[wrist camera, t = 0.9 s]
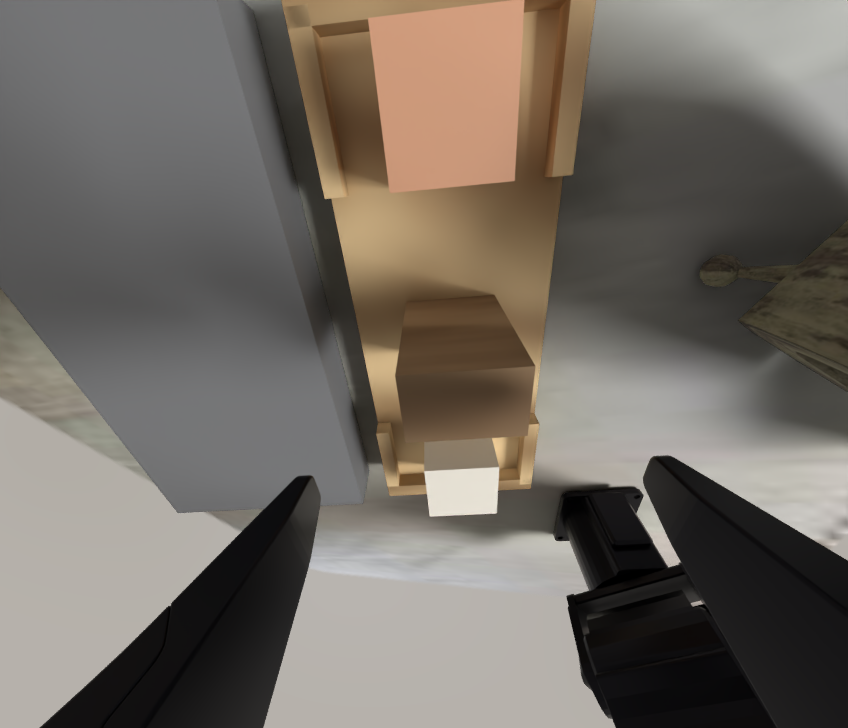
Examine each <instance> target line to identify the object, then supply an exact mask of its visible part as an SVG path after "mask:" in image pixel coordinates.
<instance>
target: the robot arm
mask: <svg viewBox="0 0 848 728" xmlns="http://www.w3.org/2000/svg"><path fill="white" fill-rule="evenodd" d="M643 483H644V486H645V489H646V491H647V493H648V495H649V497H650V500H651V502H652V504H653V506H654V508H655V511H656V513H657V515H658V517H659V519H660V521H661V524H662V526H663V528H664V530H665V532H666V534H667V537H668V539H669V541H670V543H671V545H672V547H673V548H674V550H675V552H676V554H677V556H678V557H679V559H680V561H681V562H680V563H679V565H676V566H672V567H668V566H667V564H666V563H665V561H664V559H663V558H662V556H661V555H660V553H659V551H658V550H657V548H656V546H655V545H654V543H653V540H652V538H651V537H650V535H649V533H648V532H647V530H646V529H645V527H644V525H643V524H642V522H641V521H640V519H639V517H638V516H637V514H636V513H637V510H638V508H639V506H640V503H641V501H642V499H643V494H642V492H641V491H640V490H639V489H624V490H604V491H584V492H567V493H564V494H563V495H562V496H561V501H560V506H559V510H558V515H557V520H556V524H555V529H554V534H553V535H554V538H555V540H556V541H570V543H571V546H572V548H573V551H574V554H575V556H576V559H577V561H578V564H579V566H580V569H581V571H582V574H583V576H584V579H585V581H586V584H587V587H588V589H589V591H587V592H583V593H580V594H576V595H574V594H571V595H568V596H567V601H568V605H569V607H568V611H569V615H570V620H571V624H572V628H573V632H574V637H575V641H576V645H577V650H578V653H579V661H580V669H581V676H582V679H583V682H584V684H585V685H586V686H587V687H588V688H589V689H591V690H592V691H593V693H594V695H595V697H596V699H597V701H598V703H599V705H600V707H601V709H602V710H603V712H604V713H605V715H606V716H607V717H608V718H610V719H613V722H614V724H615V727H616V728H848V561H847V560H846V559H844V558H842V557H841V556H839V555H837V554H836V553H834V552H832V551H831V550H829V549H827V548H826V547H824V546H822V545H821V544H819V543H817V542H815V541H814V540H812V539H810V538H809V537H807V536H805V535H804V534H802V533H800V532H799V531H797V530H795V529H794V528H792V527H790V526H789V525H787V524H785V523H783V522H782V521H780V520H778V519H777V518H775V517H773V516H772V515H770V514H768V513H767V512H765V511H763V510H762V509H760V508H758V507H756V506H755V505H753V504H751V503H750V502H748V501H746V500H745V499H743V498H741V497H740V496H738V495H736V494H735V493H733V492H731V491H730V490H728V489H726V488H724V487H723V486H721V485H719V484H718V483H716V482H714V481H713V480H711V479H709V478H708V477H706V476H704V475H703V474H701V473H699V472H698V471H696V470H694V469H692V468H691V467H689V466H687V465H686V464H684V463H682V462H681V461H679V460H677V459H676V458H674V457H672V456H653V457H652V458H651V459H650V461H649V463H648V466H647V468H646V471H645V474H644V476H643ZM320 503H321V495H320V492H319V489H318V487H317V484H316V481H315V479H314V477H313V476H312V475H301V476H297V477H296V478H294V479H293V480H292V481H291V482H290V483H289V484H288V485H287V486H286V487H285V488H284V489H283V490H282V491H281V492H280V493H279V494H278V496H277V497H276V498H275V499H274V500H273V501H272V502H271V503H270V504H269V505H268V506H267V507H266V508H265V509H264V510H263V511H262V512H261V513H260V514H259V515H258V516H257V517H256V518H255V519H254V520H253V521H252V522H251V523H250V524H249V525H248V526H247V527H246V528H245V529H244V530H243V531H242V532H241V533H240V534H239V535H238V536H237V537H236V538H235V539H234V540H233V541H232V542H231V544H229V545H228V546H227V547H226V548H225V549H224V550H223V551H222V552H221V553H220V554H219V555H218V556H217V557H216V558H215V559H214V560H213V561H212V562H211V563H210V564H209V565H208V566H207V568H205V569H204V571H202V573H201V574H200V575H199V576H198V577H197V578H196V579H195V580H194V581H193V582H192V583H191V584H190V585H189V586H188V587H187V588H186V589H185V590H184V591H183V592H182V593H181V594H180V595H179V596H178V597H177V598H176V599H175V600H174V601H173V602H172V603H171V606H168V607H167V608H166V609H165V610H164V611H163V612H162V613H161V614H160V615H159V616H158V617H157V618H156V619H155V620H154V621H153V622H152V623H151V624H150V625H149V626H148V627H147V628H146V629H145V630H144V631H143V632H142V633H141V634H140V635H139V636H138V637H137V638H136V639H135V640H134V641H133V642H132V643H131V644H130V645H129V646H128V647H127V648H126V649H125V650H124V651H123V652H122V653H121V654H119V655H118V656H117V657H116V658H115V659H114V660H113V661H112V662H111V663H110V664H109V665H108V666H107V667H105V669H103V670H102V671H101V672H100V673H99V674H98V675H97V676H96V677H95V678H94V679H93V680H92V681H90V682H89V683H88V684H87V685H86V686H85V687H84V688H83V689H82V690H81V691H80V692H79V693H77V694H76V695H75V696H74V697H73V698H72V699H71V700H70V701H69V702H67V703H66V704H65V705H64V706H63V707H62V708H61V709H60V710H59V711H58V712H56V713H55V714H54V715H53V716H52V717H51V718H50V719H49V720H48V721H47V722H46V723H44V724H43V725H42V726H41V727H40V728H263V726H264V723H265V720H266V716H267V712H268V709H269V705H270V702H271V698H272V695H273V691H274V688H275V684H276V681H277V677H278V674H279V670H280V666H281V663H282V659H283V656H284V652H285V649H286V645H287V642H288V638H289V635H290V631H291V628H292V624H293V620H294V617H295V613H296V609H297V606H298V603H299V599H300V596H301V592H302V589H303V585H304V582H305V578H306V574H307V571H308V567H309V563H310V559H311V554H312V549H313V543H314V537H315V532H316V526H317V520H318V515H319V509H320ZM700 600H701V602H702V603H703V604H702V605H698V606H694V607H692V605H691V604H690V603H692V602H696V601H700Z"/></svg>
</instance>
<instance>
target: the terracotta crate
mask: <svg viewBox="0 0 848 728" xmlns="http://www.w3.org/2000/svg"><path fill="white" fill-rule="evenodd" d="M523 17H524V0H509V1H501V2H493V3H485V4H477V5H469V6H461V7H453V8H445V9H437V10H429V11H421V12H413V13H405V14H397V15H389V16H381V17H373V18H368V22H369V30H370V38H371V46H372V54H373V62H374V70H375V78H376V86H377V95H378V103H379V111H380V119H381V127H382V135H383V143H384V151H385V159H386V167H387V175H388V183H389V191H390V193H397V192H408V191H418V190H428V189H438V188H449V187H459V186H469V185H479V184H490V183H500V182H510V181H515V166H516V148H517V129H518V110H519V92H520V73H521V55H522V36H523Z"/></svg>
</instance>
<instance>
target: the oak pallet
mask: <svg viewBox="0 0 848 728" xmlns="http://www.w3.org/2000/svg"><path fill="white" fill-rule="evenodd" d="M281 1H282V6H283V10H284V15H285V20H286V24H287V29H288V33H289V38H290V42H291V47H292V52H293V56H294V61H295V65H296V70H297V74H298V79H299V84H300V88H301V93H302V97H303V102H304V106H305V111H306V116H307V120H308V125H309V129H310V134H311V138H312V143H313V148H314V152H315V157H316V161H317V166H318V170H319V175H320V180H321V184H322V189H323V193H324V198H325V199H331V200H332V205H333V210H334V214H335V219H336V224H337V229H338V233H339V238H340V243H341V248H342V253H343V257H344V262H345V267H346V272H347V276H348V281H349V286H350V291H351V296H352V300H353V305H354V310H355V315H356V319H357V324H358V329H359V334H360V339H361V343H362V348H363V353H364V358H365V363H366V367H367V372H368V377H369V382H370V386H371V391H372V396H373V401H374V406H375V410H376V415H377V420H378V427H377V432H376V436H377V440H378V445H379V450H380V454H381V459H382V463H383V468H384V472H385V477H386V482H387V486H388V491H389V495H390V496H399V495H418V494H427V490H426V482H425V474H424V442H434V441H450V440H467V439H484V438H492V440H493V444H494V448H495V452H496V456H497V460H498V464H499V482H498V490H515V489H531V482H532V474H533V467H534V459H535V452H536V444H537V437H538V429H539V422H538V420H537V418H536V416H535V414H534V412H535V404H536V396H537V387H538V379H539V371H540V363H541V354H542V346H543V338H544V330H545V321H546V313H547V305H548V296H549V288H550V280H551V272H552V263H553V255H554V247H555V239H556V230H557V222H558V214H559V206H560V197H561V189H562V181H563V176H568V175H573V169H574V161H575V154H576V147H577V139H578V132H579V124H580V117H581V109H582V102H583V94H584V87H585V80H586V72H587V65H588V57H589V50H590V42H591V35H592V27H593V20H594V13H595V5H596V0H524V17H523V36H522V55H521V73H520V92H519V110H518V129H517V148H516V166H515V181H510V182H500V183H490V184H479V185H469V186H459V187H449V188H438V189H428V190H418V191H408V192H397V193H390V191H389V183H388V175H387V167H386V159H385V151H384V143H383V135H382V127H381V119H380V111H379V103H378V95H377V86H376V78H375V70H374V62H373V54H372V46H371V38H370V30H369V22H368V18H373V17H381V16H389V15H397V14H405V13H413V12H421V11H429V10H437V9H445V8H453V7H461V6H469V5H477V4H485V3H493V2H501V1H509V0H281Z"/></svg>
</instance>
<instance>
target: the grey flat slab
mask: <svg viewBox="0 0 848 728" xmlns="http://www.w3.org/2000/svg"><path fill="white" fill-rule="evenodd" d="M0 288H1V289H2V290H3V292H4V293H5V294H6V295H7V297H8V298H9V299H10V300H11V302H12V303H13V304H14V305H15V307H16V308H17V309H18V311H19V312H20V313H21V314H22V316H23V317H24V318H25V319H26V321H27V322H28V323H29V325H30V326H31V327H32V328H33V330H34V331H35V332H36V333H37V335H38V336H39V337H40V339H41V340H42V341H43V342H44V344H45V345H46V346H47V347H48V349H49V350H50V351H51V352H52V354H53V355H54V356H55V358H56V359H57V360H58V361H59V363H60V364H61V365H62V366H63V368H64V369H65V370H66V372H67V373H68V374H69V375H70V377H71V378H72V379H73V380H74V382H75V383H76V384H77V386H78V387H79V388H80V389H81V391H82V392H83V393H84V394H85V396H86V397H87V398H88V399H89V401H90V402H91V403H92V405H93V406H94V407H95V408H96V410H97V411H98V412H99V413H100V415H101V416H102V417H103V419H104V420H105V421H106V422H107V424H108V425H109V426H110V427H111V429H112V430H113V431H114V432H115V434H116V435H117V436H118V438H119V439H120V440H121V441H122V443H123V444H124V445H125V446H126V448H127V449H128V450H129V452H130V453H131V454H132V455H133V457H134V458H135V459H136V460H137V462H138V463H139V464H140V466H141V467H142V468H143V469H144V471H145V472H146V473H147V474H148V476H149V477H150V478H151V479H152V481H153V482H154V483H155V485H156V486H157V487H158V488H159V490H160V491H161V492H162V493H163V495H164V496H165V497H166V499H167V500H168V501H169V502H170V503H171V505H172V506H173V507H174V509H175V510H176V511H177V512H178V513H186V512H207V511H227V510H247V509H265V508H266V507H267V506H268V505H269V504H270V503H271V502H272V501H273V500H274V499H275V498H276V497H277V496H278V494H279V493H280V492H281V491H282V490H283V489H284V488H285V487H286V486H287V485H288V484H289V483H290V482H291V481H292V480H293V479H294V478H296V477H297V476H301V475H312V476H313V477H314V479H315V481H316V484H317V487H318V489H319V492H320V495H321V503H320V506H326V505H346V504H363V501H364V496H365V491H366V486H367V480H368V475H369V467H368V463H367V459H366V455H365V451H364V447H363V443H362V439H361V435H360V431H359V427H358V424H357V420H356V416H355V412H354V408H353V404H352V400H351V396H350V392H349V388H348V384H347V380H346V376H345V372H344V368H343V364H342V360H341V356H340V353H339V349H338V345H337V341H336V337H335V333H334V329H333V325H332V321H331V317H330V313H329V309H328V305H327V301H326V297H325V293H324V289H323V285H322V282H321V278H320V274H319V270H318V266H317V262H316V258H315V254H314V250H313V246H312V242H311V238H310V234H309V230H308V226H307V222H306V218H305V215H304V211H303V207H302V203H301V199H300V195H299V191H298V187H297V183H296V179H295V175H294V171H293V167H292V163H291V159H290V155H289V151H288V147H287V144H286V140H285V136H284V132H283V128H282V124H281V120H280V116H279V112H278V108H277V104H276V100H275V96H274V92H273V88H272V84H271V80H270V76H269V73H268V69H267V65H266V61H265V57H264V53H263V49H262V45H261V41H260V37H259V33H258V29H257V25H256V21H255V17H254V13H253V10H252V9H251V8H250V7H249V6H248V5H247V4H246V3H245V2H244V1H243V0H0Z"/></svg>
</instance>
